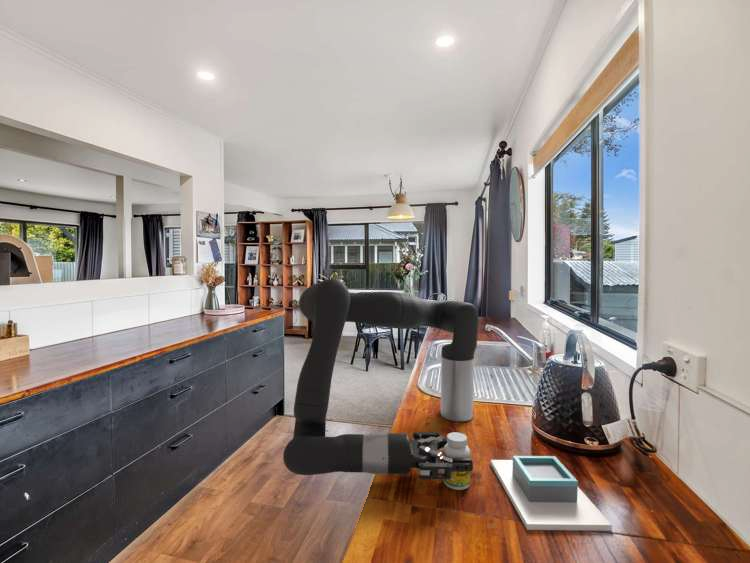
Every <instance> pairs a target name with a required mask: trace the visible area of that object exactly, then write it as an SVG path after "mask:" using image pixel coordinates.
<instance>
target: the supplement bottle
mask: <svg viewBox="0 0 750 563" xmlns="http://www.w3.org/2000/svg"><path fill="white" fill-rule="evenodd" d="M446 438H447V444H446V445H445V446H444V450H442V451H443V452H442V453H443V456H445V457H448V458H451V459H453V458H470V459H472V455H471V454H472V453H471V449H470V447H469V446H468V436H467V435H465V434H464V433H462V432H457V431H456V432H455V431H454V432H453V431H452V432H450V433H448V434H447V435H446ZM442 463H445V462H442ZM442 473H445V472H442ZM442 480H443V483H444V485H446V487H448V488H450V489H451V490H456V491H462V490H465V489H468V488H469V487H470V485H471V471H454V472H453V473H452V475H451V479H442Z"/></svg>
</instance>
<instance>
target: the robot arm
mask: <svg viewBox="0 0 750 563" xmlns="http://www.w3.org/2000/svg"><path fill="white" fill-rule="evenodd" d="M298 301H299V302H298V304H299V305H298V306H299V309H300V311H301V313H302V315H303V316H304V317H305V318H306V319H308V320H309V321H311V322H313V323H314V330H313V334H312V335H313V336H312V340H311V342H310V346H309V349H308V352H307V354H306V357H305V360H304V361H303V364H302V367H301V370H300V373H299V376H298V378H297V379H298V380H297V386H296V391H295V397H294V403H293V416H294V418H295V420H294V421H295V422H294V428H293V435H292V438H291V440H289V442H288V443H287V444H286V445H285V448H284V450H283V456H282V457H283V458H282V459H283V463H284V466H285V468H287V470H288V471H289V472H290V473H292V474H295V475H300V476H312V475H313V476H315V475H316V476H317V475H323V474H324V475H325V474H331V473H362V474H363V473H364V474H365V473H366V474H371V475H409V474H410V473H411V469H412V468H413V469H418V479H420V480H443V479H451V475H452V473H453V472H454V471H470V472H472V471H473V469H474V467H473V466H474V461H473V459H472V458H471V459H470V458H453V459H451V458H448V457H445V456H444V454H442V453H443V452H440V451H444V446H445V445H446V444H447V437H445V436H443V435H441V433H440V432H437V431H413V432H412V439H410V435H409V434H408V433H406V432H405V433H404V432H398V433H397V432H372V433H365V434H362V433H361V434H360V433H359V434H358V433H357V434H354V433H346V434H339V435H337V436H326V430H327V429H326V428H327V427H326V424H327V421H326V420H327V414H328V408H329V402H330V394H331V388H332V387H331V386H332V379H333V373H334V367H335V364H336V362H335V361H336V358H337V355H338V349H339V346H340V342H341V338H342V335H343V331H344V327H345V325H346V323H357V324H362V325H367V326H368V325H369V326H374V327H381V328H387V329H388V328H389V329H401V330H410V329H415V328H418V327H429V328H434V329H437V330H440V331H445V332H447V333H448V332H449V333H452V341H451V343H447V344H444V345H443V346H442V347H441V352H440V353H441V358H440V359H441V360H440V361H441V362H440V366H441V367H440V368H441V369H440V415H441V417H442V418H443V419H446V420H448V421H452V422H467V421H471V420H472V419H473V417H474V389H475V388H474V382H475V381H474V380H475V377H474V376H475V373H474V372H475V353H476V349H477V346H478V333H479V332H478V331H479V312H478V309H477V308H476V306H475V305H474V304H472V303H470V302H465V301H457V300H426V299H423V298H421V297H419V296H416V295H413V294H407V293H403V292H395V291H371V292H369V291H368V292H350V291H349V289H348V287H347V285H345V283H344V282H342V281H341V280H339V279H333V278H329V279H325V280H322V281H319V282H317V283H314V284H312V285H310V286H309V287H307V288H306V289H304V291H302V293H301V295H300V297H299V300H298ZM443 462H445V463H443ZM441 472H442V473H441ZM443 472H445V473H443Z"/></svg>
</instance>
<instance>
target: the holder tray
mask: <svg viewBox="0 0 750 563" xmlns="http://www.w3.org/2000/svg"><path fill="white" fill-rule="evenodd" d="M490 466H491V468H492V470H493V471H494V473H495V475H496V477H497V479H498V480H499V483H500V484H501V485H502V487H503V489H504V491H505V493H506V494H507V496H508V498H509V500H510V502H511V503H512V505H513V507H514V508H515V511H516V512H517V515H518V516H519V518H520V520H521V521H522V523H523V525H524V527H525V528H526V531H586V532H588V531H595V532H596V531H598V532H599V531H603V532H605V531H606V532H611V531H612V530H613V525H612V523H611V522H610V521H609V520H608V519H607V518H606V516H604V514H603V513H602V512H601V511H600V510H599V508H597V506H596V505H595V504H594V503H593V502H592V501H591V499H590V498H589V497H588V496H587V495H586V494H585V492H583V491H582V489H581V488H579V486H578V485H579V480H577V479H576V477H575V476H574V475H573V474H572V473H571V472H570V470H568V468H566V466H564V464H563V463H562V462H561V461H560V459H558V458H557V456H555V455H541V456H540V455H512V459H490Z"/></svg>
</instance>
